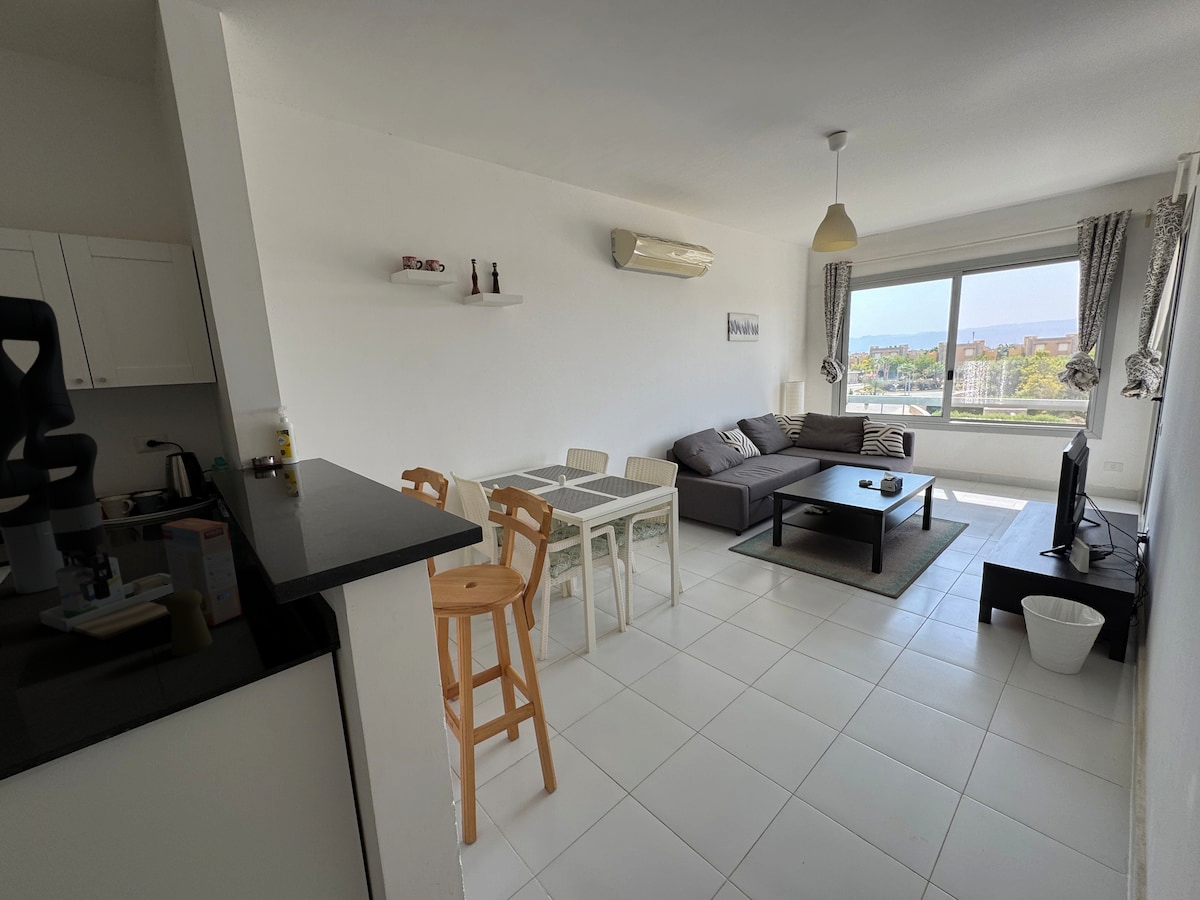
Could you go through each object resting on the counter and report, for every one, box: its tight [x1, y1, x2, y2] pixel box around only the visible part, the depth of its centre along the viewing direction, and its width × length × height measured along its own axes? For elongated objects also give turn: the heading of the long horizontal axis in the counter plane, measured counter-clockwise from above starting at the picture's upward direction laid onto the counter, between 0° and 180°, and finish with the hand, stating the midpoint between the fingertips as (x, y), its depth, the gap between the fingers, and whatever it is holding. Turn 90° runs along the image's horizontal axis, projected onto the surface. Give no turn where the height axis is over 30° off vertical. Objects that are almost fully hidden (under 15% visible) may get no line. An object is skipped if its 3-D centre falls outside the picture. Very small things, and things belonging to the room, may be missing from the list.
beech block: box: [131, 574, 164, 596], centre depth 116 cm, size 4×4×4 cm
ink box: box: [55, 556, 126, 619], centre depth 107 cm, size 9×5×12 cm, turn 168°
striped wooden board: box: [73, 601, 170, 639], centre depth 103 cm, size 12×12×1 cm
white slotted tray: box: [38, 572, 173, 633], centre depth 111 cm, size 12×22×2 cm, turn 157°
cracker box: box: [160, 517, 243, 627], centre depth 103 cm, size 14×6×21 cm, turn 65°
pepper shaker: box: [165, 590, 213, 657], centre depth 91 cm, size 6×6×11 cm
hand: (93, 595), depth 107 cm, fingers open, 8 cm apart
